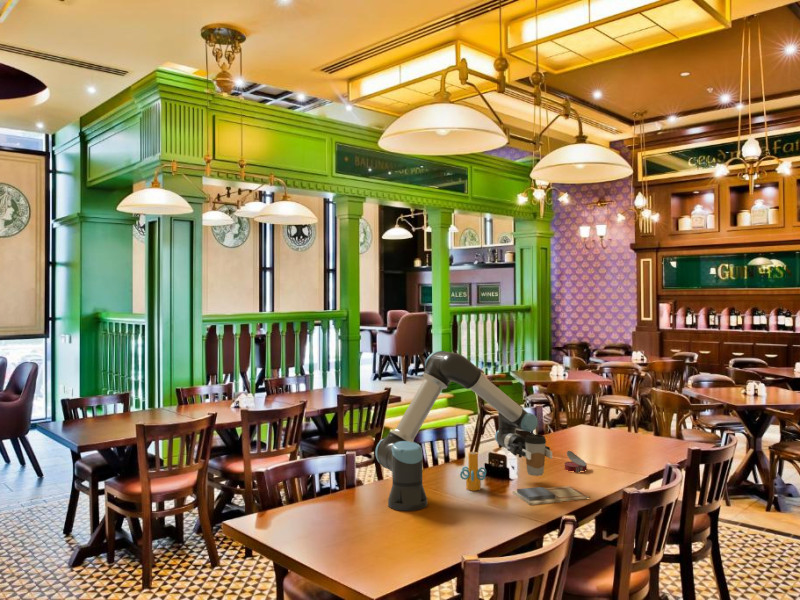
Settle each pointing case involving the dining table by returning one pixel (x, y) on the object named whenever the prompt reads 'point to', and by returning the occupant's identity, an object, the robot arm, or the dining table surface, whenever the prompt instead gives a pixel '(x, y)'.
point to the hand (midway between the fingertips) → (540, 455)
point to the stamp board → (558, 493)
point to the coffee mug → (523, 432)
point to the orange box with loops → (473, 473)
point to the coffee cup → (535, 454)
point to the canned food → (575, 463)
